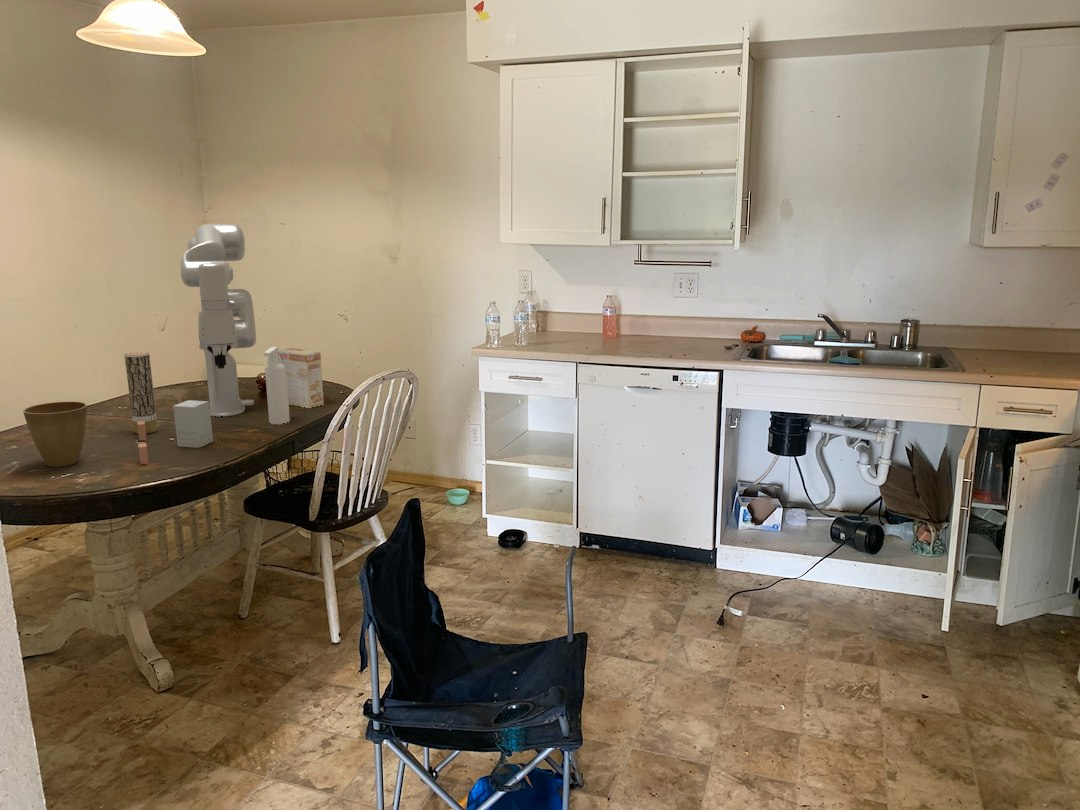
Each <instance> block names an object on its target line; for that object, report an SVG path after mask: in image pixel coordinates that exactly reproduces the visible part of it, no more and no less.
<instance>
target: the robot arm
mask: <svg viewBox="0 0 1080 810" xmlns="http://www.w3.org/2000/svg"><path fill="white" fill-rule="evenodd" d="M187 247H188V249H187V250H185V251H184V253H183V254H182V255H181V259H180V276H181V281H182V283H183V284H184V285H185V286H187V287H190V288H199V294H200V296H199V297H200V306H201V307H200V308H201V310H199V311H198V319H197V320H198V323H197V324H198V325H197V326H198V339H199V346H198V347H199V349H200V350H203V352H204V353H203V354H204V358H205V369H206V378H207V386H208V387H207V388H208V390H207V391H208V398H209V400H208V401H209V407H210V416H211V417H215V416H216V417H221V416H223V417H231V416H232V417H233V416H237V415H241V414H243V413H244V412H245V411H246V408H245V406H246V407H247V406H255V402H254V401H255V400H254V399H241V397H240V392H239V381H238V371H237V370H238V369H237V362H236V359H235V357H234V356H233V355H232V354H231V353H230V350H231V349H245V348H247V349H248V348H252V347H254V346H255V345H256V342H257V333H256V332H257V329H256V321H255V315H254V314H255V312H254V303H253V299H252V295H251V293H250V292H249V290H247V289H244V288H229V287H228V286H229V285H230V284H231V283H232V281H233V280H234V270H233V267H232V265H230V263H228V262H237V261H241V260H243V258H244V256H245V253H246V252H245V250H246V249H245V247H246V246H245V235H244V232H243V230H242V228H241V227H240V226H239V225H238V224H236V223H205V224H202V225H200V226H199V227H197V229H196V230H195V235H194V236H193V237H191V238H190V239H189V240H188V242H187ZM235 318H238V319H235Z"/></svg>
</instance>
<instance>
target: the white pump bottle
mask: <svg viewBox="0 0 1080 810" xmlns="http://www.w3.org/2000/svg"><path fill="white" fill-rule="evenodd" d="M278 350H279V347H278V346H271V347H270V348H268V349H267V350H266V351H264V352H263V356H264V357H267V360H266V366H265V368H264V371H265V373H264V374H265V384H266V385H265V387H266V398H267V409H268V411H267V412H268V423H269V422H270V423H271V424H270V423H269V424H270V425H275V424H276V425H284V424H283V423H285V424H288V423H290V422H291V419H290V407H289V406H290V405H289V403H288V389H287V375H286V368H285V366H284V365H283V364H282V362H281V357H280V356H279V355H278V352H279V351H278ZM278 358H279V360H278ZM289 421H290V422H289ZM287 422H288V423H287Z"/></svg>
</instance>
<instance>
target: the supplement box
mask: <svg viewBox="0 0 1080 810" xmlns="http://www.w3.org/2000/svg"><path fill="white" fill-rule="evenodd" d="M172 407H173V416H174V427H175V434H176V440H177V441H176V442H177V447H179V448H195V449H200V448H202V447H205V446H207V445H209V444H211V443H213V442H214V438H213V437H214V436H213V428H212V427H213V426H212V416H210V400H207V401H205V400H192V399H191V400H184V401H183V402H180V403H179V402H178V404H173V406H172ZM210 442H211V443H210ZM208 443H209V444H208ZM206 444H207V445H206Z"/></svg>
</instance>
